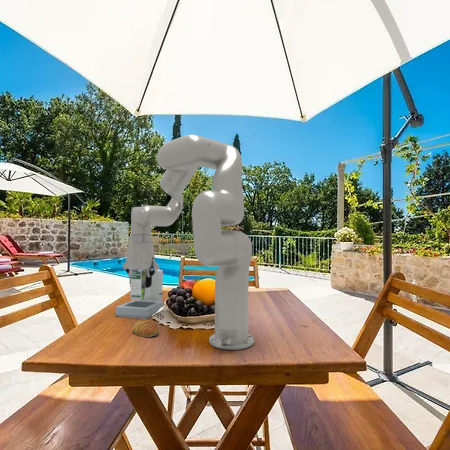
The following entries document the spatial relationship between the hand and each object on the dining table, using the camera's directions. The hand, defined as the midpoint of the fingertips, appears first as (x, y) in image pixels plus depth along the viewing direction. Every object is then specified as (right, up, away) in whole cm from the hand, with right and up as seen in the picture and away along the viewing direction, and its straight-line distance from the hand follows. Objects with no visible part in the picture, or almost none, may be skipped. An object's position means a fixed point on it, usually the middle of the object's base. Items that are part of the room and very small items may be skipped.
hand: (140, 286), depth 122 cm
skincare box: (+1, -11, +14) cm, 18 cm away
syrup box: (0, -5, 0) cm, 5 cm away
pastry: (+8, -10, -23) cm, 27 cm away
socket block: (0, -10, 0) cm, 10 cm away
